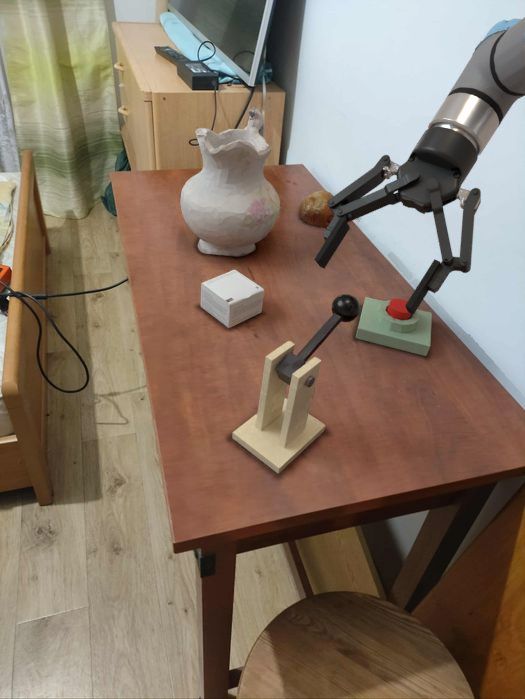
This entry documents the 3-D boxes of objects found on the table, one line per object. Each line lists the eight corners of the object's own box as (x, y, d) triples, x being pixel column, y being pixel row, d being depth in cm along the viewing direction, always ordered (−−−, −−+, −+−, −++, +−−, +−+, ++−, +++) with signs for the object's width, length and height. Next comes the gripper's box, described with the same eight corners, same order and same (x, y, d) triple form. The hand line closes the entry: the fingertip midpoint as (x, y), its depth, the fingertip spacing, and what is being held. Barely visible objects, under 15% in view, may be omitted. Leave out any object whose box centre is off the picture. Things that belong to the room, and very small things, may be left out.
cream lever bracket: (279, 400, 73) (293, 325, 64) (324, 431, 70) (345, 356, 61) (231, 438, 67) (239, 360, 58) (278, 474, 64) (294, 397, 55)
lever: (342, 300, 67) (342, 283, 64) (365, 313, 66) (366, 296, 63) (274, 377, 63) (270, 362, 60) (297, 392, 61) (294, 378, 58)
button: (410, 310, 88) (413, 302, 87) (409, 323, 85) (412, 315, 84) (387, 304, 89) (390, 296, 87) (385, 317, 86) (388, 309, 84)
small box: (233, 292, 93) (235, 268, 90) (262, 313, 89) (265, 289, 86) (199, 306, 88) (200, 282, 85) (228, 329, 84) (230, 304, 81)
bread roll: (317, 220, 126) (310, 188, 123) (354, 217, 120) (347, 182, 117) (296, 233, 120) (288, 200, 117) (333, 230, 114) (326, 195, 110)
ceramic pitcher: (202, 215, 117) (195, 98, 101) (286, 224, 114) (293, 105, 98) (172, 263, 100) (158, 131, 84) (269, 275, 98) (274, 141, 82)
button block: (428, 322, 92) (435, 304, 89) (426, 356, 85) (434, 338, 82) (362, 306, 94) (367, 288, 91) (355, 338, 86) (360, 319, 84)
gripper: (547, 192, 62) (453, 339, 63) (373, 132, 73) (295, 257, 74) (555, 158, 55) (450, 323, 56) (363, 97, 66) (276, 235, 67)
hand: (361, 286), depth 65 cm, fingers open, 13 cm apart
